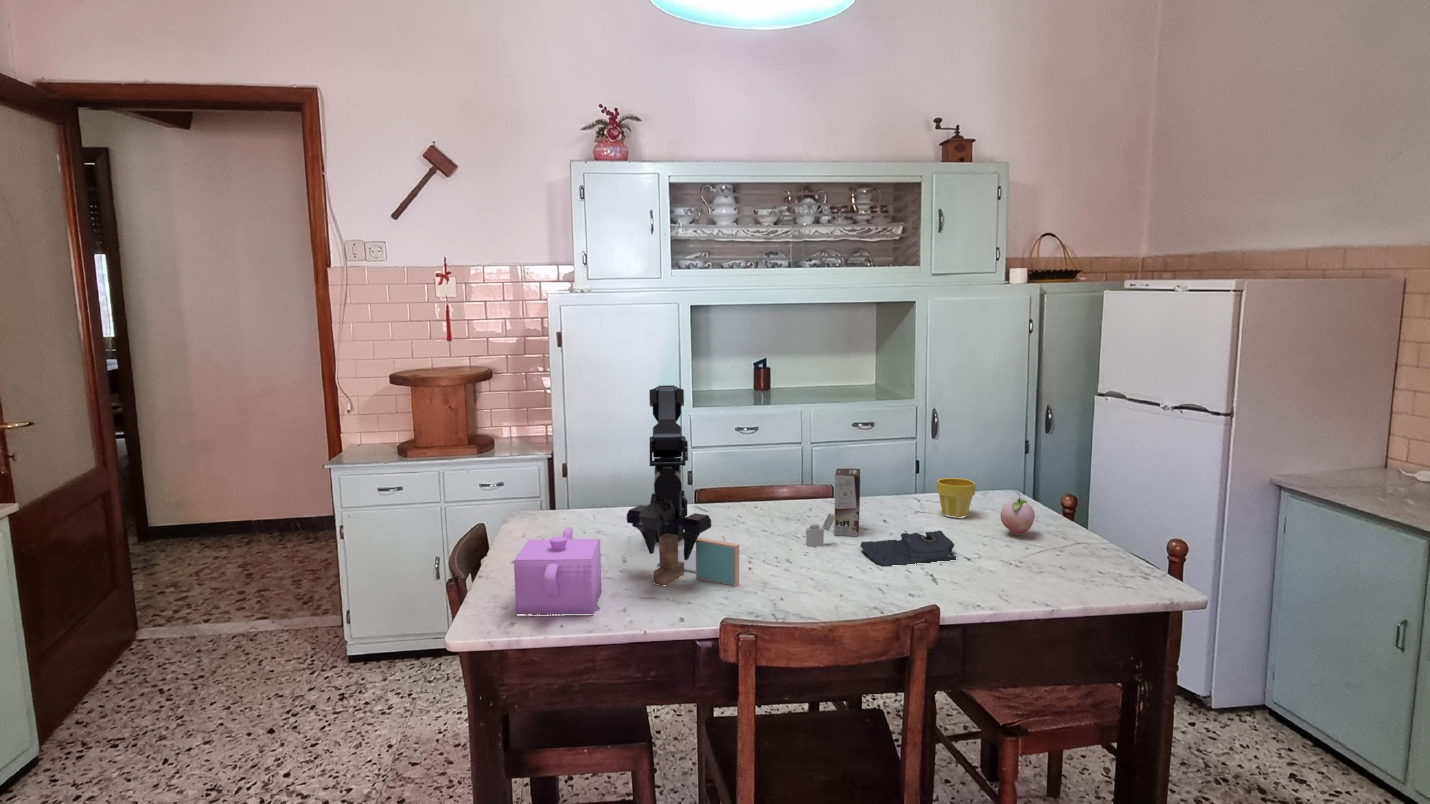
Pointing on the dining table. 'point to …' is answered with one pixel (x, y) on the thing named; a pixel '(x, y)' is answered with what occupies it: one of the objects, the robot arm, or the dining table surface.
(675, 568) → the brown stepped wooden block
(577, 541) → the teapot
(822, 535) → the lighter
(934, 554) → the dark grey folded shirt
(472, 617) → the dining table surface
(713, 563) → the tile
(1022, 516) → the decorative fruit
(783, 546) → the dining table surface
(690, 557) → the mat
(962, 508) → the plant pot
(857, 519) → the coffee box
